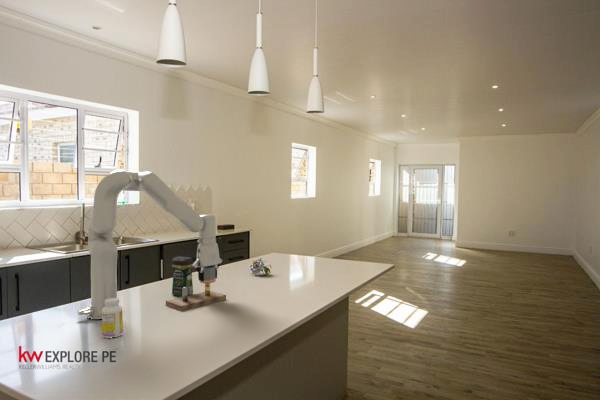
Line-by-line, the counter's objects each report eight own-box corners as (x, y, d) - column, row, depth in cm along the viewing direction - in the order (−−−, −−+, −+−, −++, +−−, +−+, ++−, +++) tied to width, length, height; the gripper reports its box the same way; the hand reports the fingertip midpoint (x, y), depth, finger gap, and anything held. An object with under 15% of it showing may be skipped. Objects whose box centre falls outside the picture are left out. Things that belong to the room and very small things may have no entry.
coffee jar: (169, 295, 197) (168, 257, 197) (180, 291, 205) (180, 254, 204) (185, 297, 193) (184, 258, 193) (195, 293, 201) (195, 256, 200)
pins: (184, 301, 180) (184, 287, 180) (181, 300, 181) (181, 286, 181) (211, 295, 191) (211, 281, 190) (208, 294, 192) (208, 281, 192)
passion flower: (255, 284, 242) (243, 268, 243) (264, 277, 251) (253, 261, 252) (267, 276, 236) (255, 259, 237) (276, 269, 246) (265, 252, 247)
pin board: (180, 310, 173) (180, 306, 173) (165, 305, 181) (165, 300, 181) (226, 299, 191) (226, 294, 191) (210, 294, 199) (210, 290, 199)
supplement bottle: (117, 330, 149) (116, 296, 149) (126, 335, 145) (125, 299, 145) (98, 336, 144) (98, 299, 144) (107, 340, 140) (106, 303, 139)
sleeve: (206, 284, 186) (206, 268, 185) (197, 281, 190) (197, 266, 190) (218, 281, 191) (218, 266, 190) (209, 279, 195) (209, 264, 195)
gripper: (196, 244, 181) (196, 284, 181) (227, 239, 194) (227, 277, 194) (186, 242, 186) (187, 281, 186) (217, 238, 199) (218, 275, 199)
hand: (207, 279), depth 190 cm, fingers closed on sleeve, 6 cm apart
